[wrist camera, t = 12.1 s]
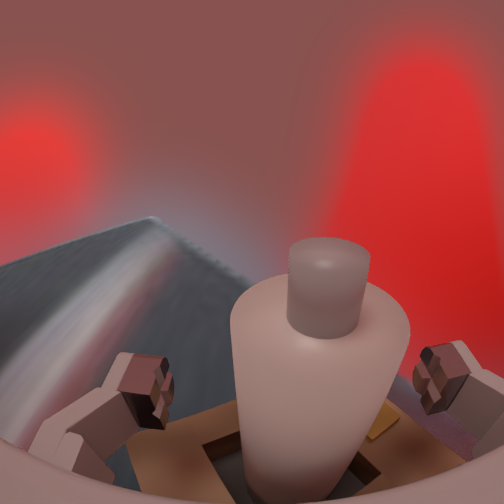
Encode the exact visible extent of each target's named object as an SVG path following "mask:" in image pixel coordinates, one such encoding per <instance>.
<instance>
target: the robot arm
mask: <svg viewBox="0 0 504 504" xmlns="http://www.w3.org/2000/svg"><path fill="white" fill-rule="evenodd" d="M420 357H421V361H420V362H419V363H418V364H417V365H416V366H415V369H414V371H413V385H414V388H415V390H416V392H418V393H419V394H421V395H422V397H421V404H422V406H423V408H424V410H425V412H426V415H431V414H435V413H439V412H443V411H446V410H447V411H446V412H447V413H449V414H450V415H451V416H452V417H453V418H454V419H456V420H457V421H458V422H459V423H460V424H462V425H463V426H464V427H465V428H466V429H467V430H469V431H470V432H471V433H472V434H473V435H474V436H476V437H477V438H478V439H479V441H478V443H477V444H476V445H475V446H474V447H473V448H472V450H471V453H472V455H473V458H474V460H471V461H469V462H467V463H465V464H462V465H460V466H458V467H455V468H453V469H450V470H447V471H445V472H442V473H439V474H437V475H434V476H431V477H428V478H425V479H422V480H419V481H416V482H413V483H409V484H406V485H402V486H399V487H395V488H391V489H387V490H383V491H379V492H374V493H370V494H365V495H360V496H354V497H348V498H342V499H336V500H328V501H320V502H311V503H299V504H504V379H503V378H501V377H499V376H497V375H495V374H493V373H492V372H490V371H488V370H486V369H485V370H483V369H482V368H481V366H480V365H479V363H478V362H477V361H476V359H475V357H474V356H473V355H472V353H471V352H470V350H469V349H468V348H467V346H466V345H465V343H464V342H462V341H460V340H458V341H454V342H449V343H444V344H438V345H433V346H427V347H425V348H424V349H423V350H422V352H421V354H420ZM168 369H169V363H168V360H167V358H165V357H160V356H151V355H142V354H132V353H125V352H121V353H119V354H118V355H117V357H116V359H115V361H114V363H113V365H112V367H111V369H110V371H109V373H108V375H107V377H106V379H105V381H104V383H103V385H102V387H101V388H95V389H94V390H92V391H91V392H89V393H88V394H86V395H84V396H83V397H81V398H80V399H78V400H77V401H75V402H73V403H72V404H70V405H69V406H67V407H65V408H64V409H62V410H61V411H59V412H57V413H56V414H54V415H53V416H51V417H49V418H48V419H46V420H45V421H43V423H42V425H41V427H40V429H39V431H38V432H37V434H36V436H35V438H34V440H33V442H32V444H31V446H30V448H29V450H28V452H26V451H24V450H22V449H20V448H18V447H16V446H14V445H12V444H11V443H9V442H7V441H5V440H3V439H2V438H0V504H219V503H207V502H197V501H189V500H182V499H175V498H169V497H163V496H158V495H153V494H148V493H143V492H139V491H134V490H130V489H126V488H122V487H119V486H115V485H113V482H114V478H115V475H114V473H113V472H112V471H111V469H110V468H109V467H108V466H107V465H106V464H105V463H104V461H105V460H107V459H108V458H109V457H110V456H111V455H112V454H113V453H114V452H115V451H116V450H117V449H118V448H120V447H121V446H122V445H123V444H124V443H125V442H126V441H127V440H128V439H129V438H130V437H131V436H132V435H133V434H134V433H136V432H137V431H138V430H139V429H140V428H139V427H142V428H149V429H157V430H165V428H166V424H167V420H168V417H169V412H168V409H167V407H168V406H169V405H170V404H172V401H173V397H174V380H173V377H172V375H171V374H170V373H169V372H168Z"/></svg>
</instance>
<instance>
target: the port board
mask: <svg viewBox="0 0 504 504" xmlns="http://www.w3.org/2000/svg"><path fill="white" fill-rule="evenodd" d="M125 444H126V447H127V450H128V453H129V457H130V460H131V463H132V466H133V469H134V472H135V474H136V477H137V480H138V483H139V486H140V488H141V491H142V492H143V493H148V494H153V495H158V496H163V497H169V498H175V499H182V500H189V501H197V502H207V503H219V504H255V503H254V502H253V501H252V500H251V498H250V496H249V494H248V492H247V488H246V481H245V472H244V464H243V455H242V446H241V436H240V427H239V417H238V407H237V399H235V400H233V401H230V402H228V403H225V404H223V405H220V406H217V407H215V408H212V409H209V410H206V411H203V412H201V413H198V414H195V415H192V416H189V417H186V418H183V419H180V420H177V421H173V422H170V423H167V424H166V428H165V430H157V429H146V430H143V431H139V432H136V433H134V434H133V435H132V436H131V437H130V438H129V439H128V440H127V441H126V442H125ZM465 463H467V462H466V461H464V460H463V459H462V458H461V457H459V456H458V455H457V454H455V453H454V452H453V451H452V450H450V449H449V448H448V447H446V446H445V445H444V444H443V443H441V442H440V441H439V440H438V439H436V438H435V437H434V436H433V435H431V434H430V433H429V432H428V431H426V430H425V429H424V428H423V427H421V426H420V425H419V424H418V423H416V422H415V421H414V420H413V419H411V418H410V417H409V416H408V415H406V414H405V413H404V412H403V411H402V410H400V409H399V408H398V407H397V406H395V405H394V404H393V403H392V402H391V401H389V400H388V399H387V398H385V400H384V403H383V405H382V407H381V409H380V411H379V413H378V415H377V417H376V419H375V421H374V422H373V424H372V426H371V428H370V430H369V432H368V434H367V436H366V437H365V439H364V441H363V443H362V444H361V446H360V448H359V450H358V451H357V453H356V455H355V456H354V458H353V460H352V461H351V463H350V465H349V466H348V468H347V469H346V471H345V473H344V474H343V476H342V477H341V479H340V480H339V482H338V483H337V485H336V486H335V488H334V489H333V491H332V492H331V493H330V495H329V496H328V498H327V499H326V500H325V501H328V500H336V499H342V498H348V497H354V496H360V495H365V494H370V493H374V492H379V491H383V490H387V489H391V488H395V487H399V486H402V485H406V484H409V483H413V482H416V481H419V480H422V479H425V478H428V477H431V476H434V475H437V474H439V473H442V472H445V471H447V470H450V469H453V468H455V467H458V466H460V465H462V464H465Z"/></svg>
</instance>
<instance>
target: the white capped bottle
mask: <svg viewBox="0 0 504 504" xmlns="http://www.w3.org/2000/svg"><path fill="white" fill-rule="evenodd" d="M369 265H370V254H369V253H368V251H366V249H364V248H363V247H362V246H360V245H358V244H356V243H354V242H351V241H347V240H344V239H339V238H331V237H314V238H307V239H303V240H300V241H298V242H296V243H294V244H293V245H292V246H291V247H290V250H289V268H288V274H283V275H279V276H275V277H272V278H269V279H266V280H264V281H262V282H259V283H257V284H256V285H254V286H252V287H251V288H249V289H248V290H247V291H245V292H244V293H243V294H242V295H241V296H240V297H239V299H238V300H237V301H236V303H235V305H234V307H233V309H232V312H231V316H230V328H231V340H232V352H233V364H234V375H235V386H236V397H237V407H238V417H239V427H240V436H241V446H242V455H243V464H244V472H245V481H246V488H247V492H248V494H249V496H250V498H251V500H252V501H253V502H254V503H255V504H299V503H311V502H320V501H325V500H326V499H327V498H328V496H329V495H330V493H331V492H332V491H333V489H334V488H335V486H336V485H337V483H338V482H339V480H340V479H341V477H342V476H343V474H344V473H345V471H346V469H347V468H348V466H349V465H350V463H351V461H352V460H353V458H354V456H355V455H356V453H357V451H358V450H359V448H360V446H361V444H362V443H363V441H364V439H365V437H366V436H367V434H368V432H369V430H370V428H371V426H372V424H373V422H374V421H375V419H376V417H377V415H378V413H379V411H380V409H381V407H382V405H383V403H384V400H385V398H386V396H387V394H388V392H389V390H390V388H391V385H392V383H393V381H394V379H395V376H396V374H397V372H398V369H399V367H400V364H401V362H402V359H403V357H404V354H405V352H406V349H407V347H408V343H409V340H410V324H409V321H408V318H407V316H406V314H405V312H404V310H403V309H402V307H401V306H400V305H399V304H398V302H396V300H395V299H394V298H392V297H391V296H390V295H389V294H388V293H386V292H384V291H383V290H382V289H380V288H378V287H376V286H375V285H372V284H370V283H368V282H367V276H368V271H369Z"/></svg>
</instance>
